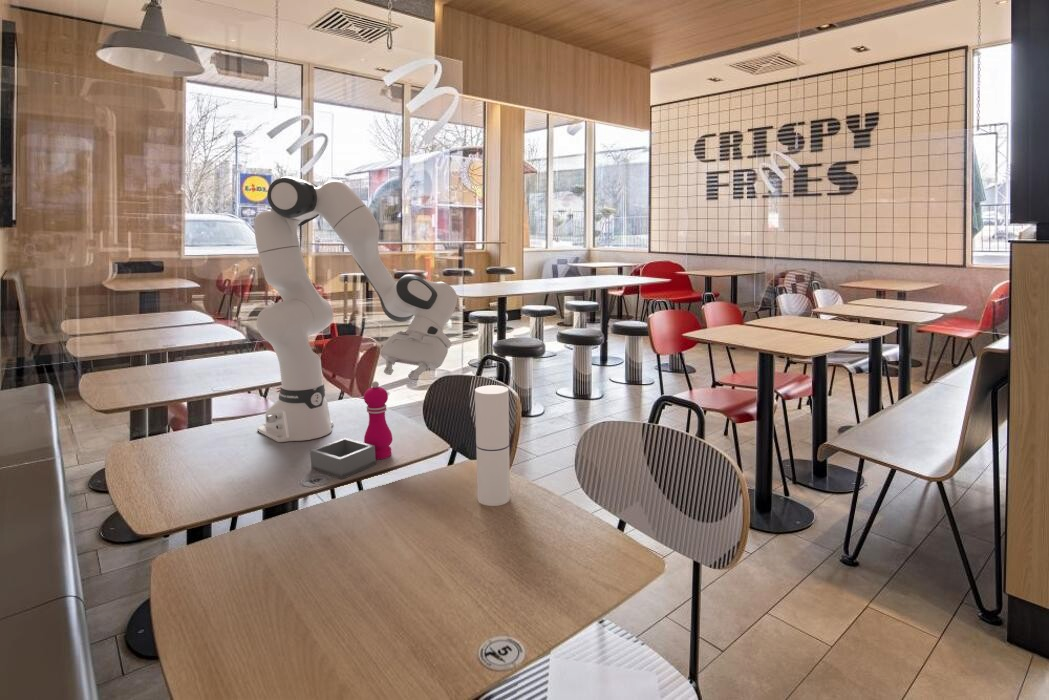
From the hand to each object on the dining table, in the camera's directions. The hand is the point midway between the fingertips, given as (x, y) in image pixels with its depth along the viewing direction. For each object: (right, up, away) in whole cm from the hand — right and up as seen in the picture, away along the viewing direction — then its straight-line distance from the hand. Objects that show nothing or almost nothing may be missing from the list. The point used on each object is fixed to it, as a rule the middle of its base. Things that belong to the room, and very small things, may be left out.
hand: (399, 375), depth 170 cm
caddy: (-12, -22, -11) cm, 28 cm away
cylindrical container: (+27, -26, -30) cm, 48 cm away
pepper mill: (-5, -21, -3) cm, 22 cm away
